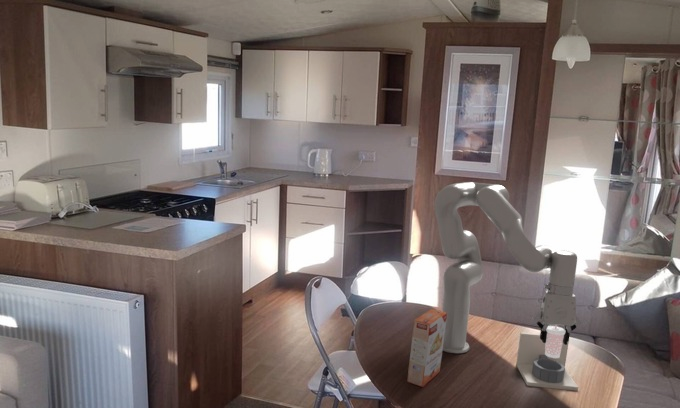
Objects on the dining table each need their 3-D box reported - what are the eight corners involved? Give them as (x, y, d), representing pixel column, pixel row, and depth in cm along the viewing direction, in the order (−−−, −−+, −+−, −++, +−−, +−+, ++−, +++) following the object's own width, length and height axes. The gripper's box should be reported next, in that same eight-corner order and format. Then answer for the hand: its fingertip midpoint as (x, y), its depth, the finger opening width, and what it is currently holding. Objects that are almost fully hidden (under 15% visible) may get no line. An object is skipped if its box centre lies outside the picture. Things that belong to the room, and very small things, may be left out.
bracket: (527, 385, 186) (532, 350, 183) (516, 364, 200) (520, 332, 198) (577, 390, 185) (583, 355, 183) (563, 369, 199) (568, 336, 197)
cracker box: (424, 388, 178) (430, 324, 175) (406, 382, 181) (412, 319, 178) (441, 372, 190) (448, 312, 187) (424, 367, 193) (430, 307, 190)
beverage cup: (546, 349, 193) (551, 309, 191) (564, 355, 190) (570, 314, 187) (539, 355, 189) (544, 314, 186) (558, 361, 185) (563, 319, 183)
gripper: (536, 290, 182) (529, 344, 185) (592, 295, 181) (584, 349, 184) (530, 283, 190) (524, 335, 193) (583, 287, 189) (576, 340, 192)
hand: (553, 341), depth 188 cm, fingers closed on beverage cup, 6 cm apart
